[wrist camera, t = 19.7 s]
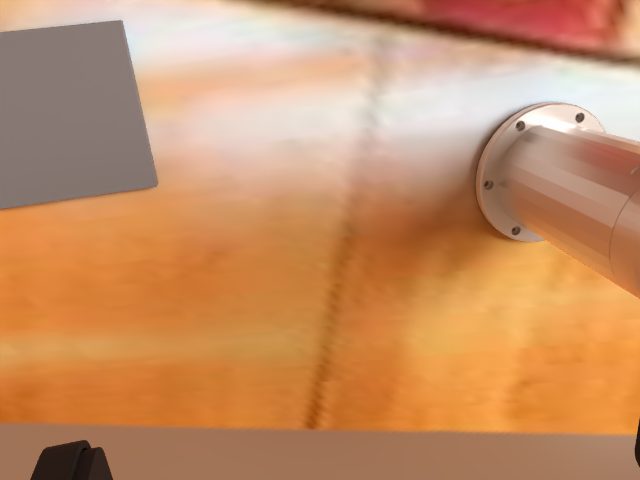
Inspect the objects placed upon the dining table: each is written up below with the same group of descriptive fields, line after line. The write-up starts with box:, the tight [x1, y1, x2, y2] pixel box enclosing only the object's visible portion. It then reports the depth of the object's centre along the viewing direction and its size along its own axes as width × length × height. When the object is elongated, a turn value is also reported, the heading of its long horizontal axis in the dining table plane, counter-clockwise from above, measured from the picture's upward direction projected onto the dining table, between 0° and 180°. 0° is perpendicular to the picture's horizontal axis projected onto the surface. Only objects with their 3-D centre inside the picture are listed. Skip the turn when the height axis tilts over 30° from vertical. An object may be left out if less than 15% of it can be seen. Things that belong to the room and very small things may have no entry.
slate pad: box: [0, 20, 158, 209], centre depth 39 cm, size 12×12×1 cm
